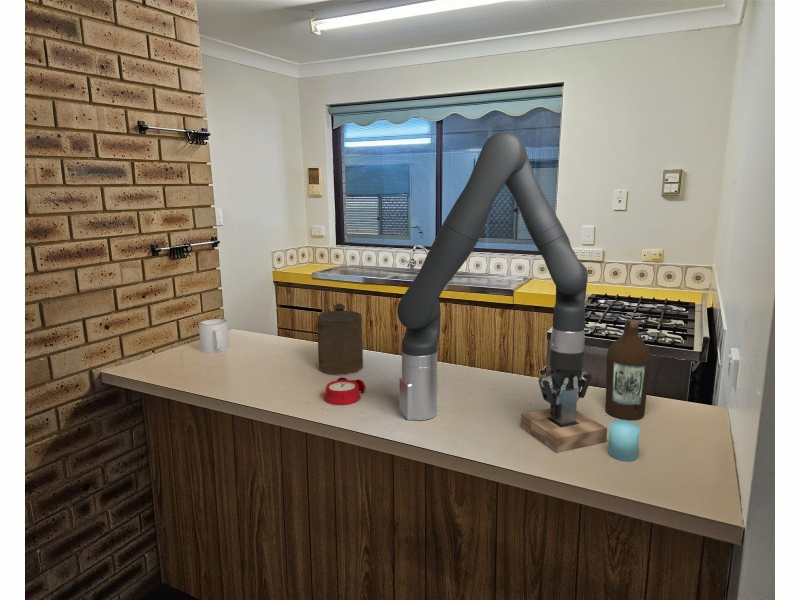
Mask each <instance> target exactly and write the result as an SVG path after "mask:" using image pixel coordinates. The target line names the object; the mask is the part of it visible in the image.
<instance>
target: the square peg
mask: <svg viewBox="0 0 800 600" xmlns="http://www.w3.org/2000/svg"><path fill="white" fill-rule="evenodd" d="M554 387H555V386H554ZM555 389H556V390H558V391H559V389H558V388H556V387H555ZM555 398H556V394H555ZM577 403H578V401H577V389H573V388H570V389H565V391H562V396H561V399H560V404H559V405H560V412H559V419H555V418H553V417H552V415H551V422H553V423H554V424H556V425H558V426H559V427H566V426H571V425H575V419H576V410H577V408H576V404H577Z"/></svg>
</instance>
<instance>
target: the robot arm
mask: <svg viewBox="0 0 800 600" xmlns="http://www.w3.org/2000/svg"><path fill="white" fill-rule="evenodd" d="M532 167H533V166H532V165H531V162H530V159H529V155H528V153H527V147H526V144H525V143H524V141H523V140H522V139H521V138H520V137H518V136H517V135H516V134H514V133H512V132H509V131H499V132H496V133H494V134H492V135H491V136H490V137H488V138H487V139H486V140H485V142H484V144H483V146H482V148H481V149H480V151H479V155H478V158H477V160H476V161H475V165H474V167H473V169H472V172H471V174H470V177H469V179H468V181H467V183H466V185H465V186H464V188H463V190H462V191H461V193H460V194H459V196H458V197H457V199H456V200H455V202H454V204H453V205H452V208H451V209H450V211H449V212H448V214H447V216H446V218H445V220H444V221H443V222H442V225H441V227H440V228H439V231H438V233H437V234H436V237H435V238H434V241H433V243H432V245H431V246H430V248H429V251H428V252H427V254H426V257H425V259H424V261H423V263H422V264H421V265H422V266H421V268H420V269H419V271H418V272H417V274H416V276H415V277H414V280H413V281H412V282H411V284H410V285H409V287H408V288H407V289H406V291H405V292H404V294H403V295H402V297H401V298H400V300H399V301H398V303H397V317H398V320H399V322H400V324H401V325H402V326H404V327H405V328H406V329H405V331H404V332H405V333H404V336H403V338H402V341H401V377H399V380H398V381H399V386H398V388H399V390H398V391H399V392H398V393H399V394H398V395H399V413H400V414H401V415H402V416H403V417H404V418H405V419H406V420H407V421H411V420H412V421H425V420H430V419H433V418H435V417H436V416H437V415H438V347H439V345H438V344H439V341H440V337H441V336H440V334H441V314H442V313H441V312H442V311H441V303H440V299H439V298H440V297H441V294H442V293H443V291H444V289H445V288H446V286H447V284H448V283H449V282H450V281H451V280H452V278H453V277H454V276H455V275H456V274H457V272H458V271H459V270H460V269H461V267H463V265H464V264H465V262H466V261H467V259H468V258H470V255H471V254H472V252H473V250H474V248H475V247H476V246H477V244H478V242H479V239H481V236H482V234H483V232H484V230H485V227H486V224H487V221H488V219H489V216H490V213H491V211H492V210H491V209H492V207H493V204H494V202H495V200H496V198H497V197H498V194H499V193H500V192H501V190H502V188H503V186H504V185H506V187H507V188H508V190H509V192H510V193H511V194H512V196H513V199H514V201H515V202H516V205H517V207H518V210H519V213H520V215H521V218H522V219H523V224H525V228H526V230H527V231H528V233H529V235H530V238H531V239H532V242H533V243H534V245H535V247H536V249H537V250H538V252H539V253H540V255H541V257H542V258H543V261H544V264H545V265H546V268H547V271H548V273H549V275H550V277H551V279H552V282H553V284H554V285H555V304H554V306H553V312H552V326H551V327H552V328H551V335H550V344H549V345H550V347H549V366H550V371H549V373H548V376H546V377H544V378H543V377H540V378H538V384H539V387H540V392H541V395H542V398H543V400H544V401H546V402H548V403H549V404H550V408H549V409H550V414H551V415H552V417H553V418H555V419H559V412H560V405H559V404H560V399H561V396H562V391H565V389H570V388H573V389H577V402H578V401H579V399H581V398H582V399H584V398H585V397H586V394H587V391H588V388H589V386H590V383H591V379H592V374H590V373H588V372H586V371H584V370H582V369H583V368H584V361H585V360H584V359H585V358H584V357H585V347H586V346H585V344H586V342H585V341H586V337H585V336H586V335H585V327H586V306H585V304H586V295H587V289H588V287H587V286H588V281H589V274H588V269H587V267H586V266H585V265H584V264H583V263H582V262H581V261H580V259H579V258H578V257H577V255H576V252H575V251H574V250H573V247H572V245H571V242H570V239H569V236H568V234H567V233H566V230H565V229H564V226H563V225H562V223H561V221H560V219H559V218H558V216H557V214H556V212H555V210H554V209H553V207H552V205H551V204H550V203H549V201H548V199H547V197H546V195H545V194H544V192H543V190H542V189H541V186H540V184H539V182H538V181H537V178H536V175H535V173H534V170H533V168H532ZM554 386H555V387H556V388H558V389H559V391H558V390H556V389H555V387H554ZM555 394H556V398H555ZM576 409H577V404H576Z"/></svg>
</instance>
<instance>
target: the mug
mask: <svg viewBox="0 0 800 600" xmlns="http://www.w3.org/2000/svg"><path fill="white" fill-rule="evenodd" d="M228 327H229V325H228V320H227V319H226V318H225V319H223V318H212V319H205V320H201V321H200V322H198V331H199V341H200V342H199V344H200V351H202V352H201V353H203V352H205V354H215V353H214V352H219V353H221V352H220V351H224V350H226V349H228V348H229V349H230V338H229V328H228ZM229 349H228V350H229ZM226 351H227V350H226ZM224 352H225V351H224Z"/></svg>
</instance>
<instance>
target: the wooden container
mask: <svg viewBox="0 0 800 600" xmlns="http://www.w3.org/2000/svg"><path fill="white" fill-rule="evenodd" d="M333 308H334V310H333V311H324V312H322V313H320V314H318V315H317V351H318V353H317V355H318V358H317V359H318V370H319V371H320V372H321V373H325V374H329V375H333V374H344V375H350V374H349V373H351V374H354V372H355V373H357V372H359V370H360V371H361V370H362V369H363V368H364V358H363V357H364V353H363V352H364V349H363V346H364V345H363V330H362V329H363V328H362V324H363V323H362V322H363V319H362V317H363V316H362V314H361V313H360V312H358V311H352V310H345V308H346V307H345V305H344V304H343V303H336V304H334V307H333Z"/></svg>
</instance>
